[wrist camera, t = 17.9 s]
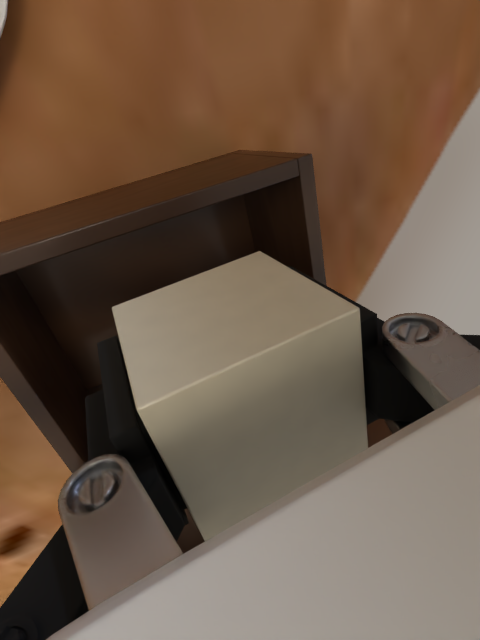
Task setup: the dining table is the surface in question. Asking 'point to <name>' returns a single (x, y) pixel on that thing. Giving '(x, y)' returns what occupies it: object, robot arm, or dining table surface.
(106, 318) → the chest
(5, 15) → the plated food
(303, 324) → the block
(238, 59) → the dining table surface
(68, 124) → the dining table surface
